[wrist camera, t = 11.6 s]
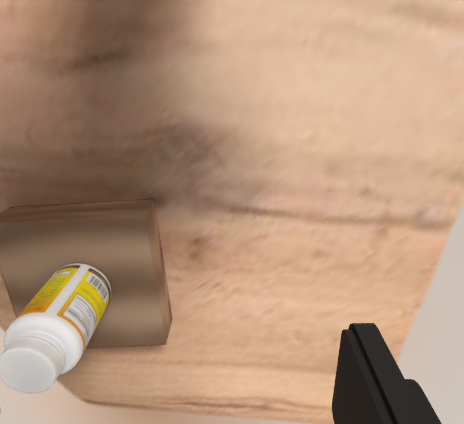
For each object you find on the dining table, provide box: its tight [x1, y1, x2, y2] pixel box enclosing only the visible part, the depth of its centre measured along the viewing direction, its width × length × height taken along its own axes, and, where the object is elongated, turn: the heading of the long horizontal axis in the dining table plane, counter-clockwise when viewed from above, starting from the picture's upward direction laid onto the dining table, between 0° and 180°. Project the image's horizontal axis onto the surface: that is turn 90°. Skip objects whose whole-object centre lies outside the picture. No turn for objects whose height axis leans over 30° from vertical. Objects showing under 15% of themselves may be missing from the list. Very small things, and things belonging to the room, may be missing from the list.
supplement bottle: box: [0, 263, 111, 393], centre depth 29 cm, size 6×6×10 cm
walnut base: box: [0, 199, 172, 348], centre depth 36 cm, size 14×14×4 cm
